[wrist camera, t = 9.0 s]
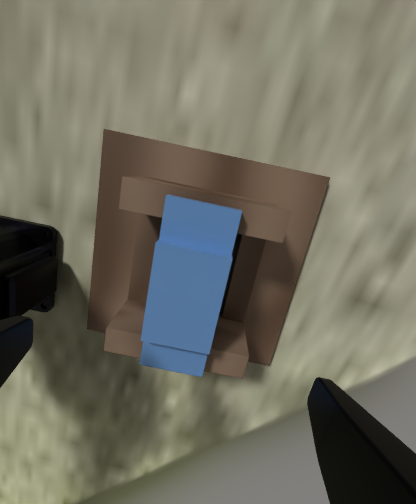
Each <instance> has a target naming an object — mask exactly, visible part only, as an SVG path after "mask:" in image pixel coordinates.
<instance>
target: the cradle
mask: <svg viewBox="0 0 416 504" xmlns="http://www.w3.org/2000/svg"><path fill="white" fill-rule="evenodd" d="M329 180H330V177H325V176H321V175H316V174H311V173H307V172H302V171H297V170H293V169H288V168H283V167H279V166H274V165H269V164H265V163H260V162H255V161H251V160H246V159H241V158H237V157H232V156H227V155H223V154H218V153H213V152H209V151H204V150H199V149H195V148H190V147H185V146H181V145H176V144H172V143H167V142H162V141H158V140H153V139H148V138H144V137H139V136H134V135H130V134H125V133H120V132H116V131H111V130H106V129H104V133H103V145H102V157H101V169H100V181H99V193H98V205H97V217H96V229H95V241H94V253H93V265H92V277H91V289H90V301H89V313H88V325H87V329H90V330H95V331H100V332H105V333H106V334H105V344H104V351H107V352H112V353H117V354H122V355H127V356H132V357H137V358H141V351H142V345H143V341H141V334H142V327H143V321H144V314H145V308H146V301H147V295H148V288H149V282H150V275H151V269H152V262H153V256H154V249H155V243H156V242H157V241H158V240H159V236H160V230H161V223H162V217H163V211H164V204H165V198H166V195H168V194H170V195H174V196H179V197H184V198H188V199H193V200H198V201H203V202H207V203H212V204H217V205H221V206H226V207H231V208H235V209H240V210H242V214H241V218H240V223H239V227H238V231H237V235H236V239H235V243H234V247H233V251H232V258H233V259H232V263H231V267H230V272H229V276H228V280H227V284H226V288H225V292H224V296H223V300H222V304H221V308H220V312H219V317H218V321H217V325H216V329H215V333H214V337H213V341H212V345H211V349H210V353H209V354H208V355H207V359H206V363H205V367H204V371H207V372H212V373H217V374H222V375H227V376H232V377H237V378H242V379H243V376H244V373H245V369H246V366H247V362H248V361H249V362H254V363H259V364H264V365H270V362H271V359H272V356H273V353H274V349H275V346H276V343H277V340H278V337H279V334H280V331H281V328H282V325H283V322H284V319H285V316H286V312H287V309H288V306H289V303H290V300H291V297H292V294H293V291H294V288H295V285H296V282H297V279H298V275H299V272H300V269H301V266H302V263H303V260H304V257H305V254H306V251H307V248H308V245H309V242H310V239H311V235H312V232H313V229H314V226H315V223H316V220H317V217H318V214H319V211H320V208H321V205H322V202H323V198H324V195H325V192H326V189H327V186H328V183H329Z"/></svg>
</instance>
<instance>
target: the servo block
mask: <svg viewBox="0 0 416 504" xmlns="http://www.w3.org/2000/svg"><path fill="white" fill-rule="evenodd" d="M241 214H242V210H240V209H235V208H231V207H226V206H221V205H217V204H212V203H207V202H203V201H198V200H193V199H188V198H184V197H179V196H174V195H170V194H168V195H166V198H165V204H164V211H163V217H162V223H161V230H160V236H159V240H158V241H157V242H156V243H155V249H154V256H153V262H152V269H151V275H150V282H149V288H148V295H147V301H146V308H145V314H144V321H143V327H142V334H141V341H143V345H142V351H141V358H140V364H139V365H144V366H149V367H154V368H159V369H164V370H169V371H174V372H179V373H184V374H189V375H194V376H199V377H202V375H203V371H204V367H205V363H206V359H207V355H208V354H209V353H210V349H211V345H212V341H213V337H214V333H215V329H216V325H217V321H218V317H219V312H220V308H221V304H222V300H223V296H224V292H225V288H226V284H227V280H228V276H229V272H230V267H231V263H232V259H233V258H232V251H233V247H234V243H235V239H236V235H237V231H238V227H239V223H240V218H241Z"/></svg>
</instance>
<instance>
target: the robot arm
mask: <svg viewBox="0 0 416 504" xmlns="http://www.w3.org/2000/svg"><path fill="white" fill-rule="evenodd" d="M46 231H48V232H49V234H50V235H49V236H48V235H47V234H46ZM56 242H57V232H56V230H55V229H54V228H53V227H52V226H48V225H44V224H39V223H34V222H29V221H24V220H20V219H15V218H10V217H5V216H0V388H1V386H2V385H3V384H4V382H5V381H6V380H7V378H8V377H9V376H10V375H11V373H12V372H13V371H14V369H15V368H16V367H17V365H18V364H19V363H20V361H21V360H22V359H23V357H24V356H25V355H26V353H27V352H28V351H29V349H30V348H31V346H32V343H33V320H32V319H31V318H28V317H23V316H21V315H22V314H24V313H25V312H27V311H28V310H35V311H40V312H48V311H50V310H51V309H52V308H53V307H54V292H55V291H56V283H57V258H56ZM44 303H45V304H46V305H47V306H45V305H44ZM307 404H308V410H309V416H310V421H311V426H312V432H313V437H314V443H315V447H316V453H317V457H318V462H319V465H320V469H321V473H322V477H323V480H324V484H325V487H326V491H327V494H328V498H329V501H330V504H416V454H415V453H414V452H413V451H412V450H411V449H410V448H409V447H407V446H406V445H405V444H404V443H403V442H402V441H401V440H399V439H398V438H397V437H396V436H395V435H394V434H393V433H391V432H390V431H389V430H388V429H387V428H386V427H384V426H383V425H382V424H381V423H380V422H379V421H378V420H376V419H375V418H374V417H373V416H372V415H371V414H369V413H368V412H367V411H366V410H365V409H364V408H363V407H361V406H360V405H359V404H358V403H357V402H356V401H354V400H353V399H352V398H351V397H350V396H349V395H348V394H346V393H345V392H344V391H343V390H342V389H341V388H340V387H338V386H337V385H336V384H335V383H334V382H333V381H331V380H329V379H325V378H320V377H318V378H316V379H315V381H314V383H313V386H312V389H311V391H310V394H309V396H308V401H307Z"/></svg>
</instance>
